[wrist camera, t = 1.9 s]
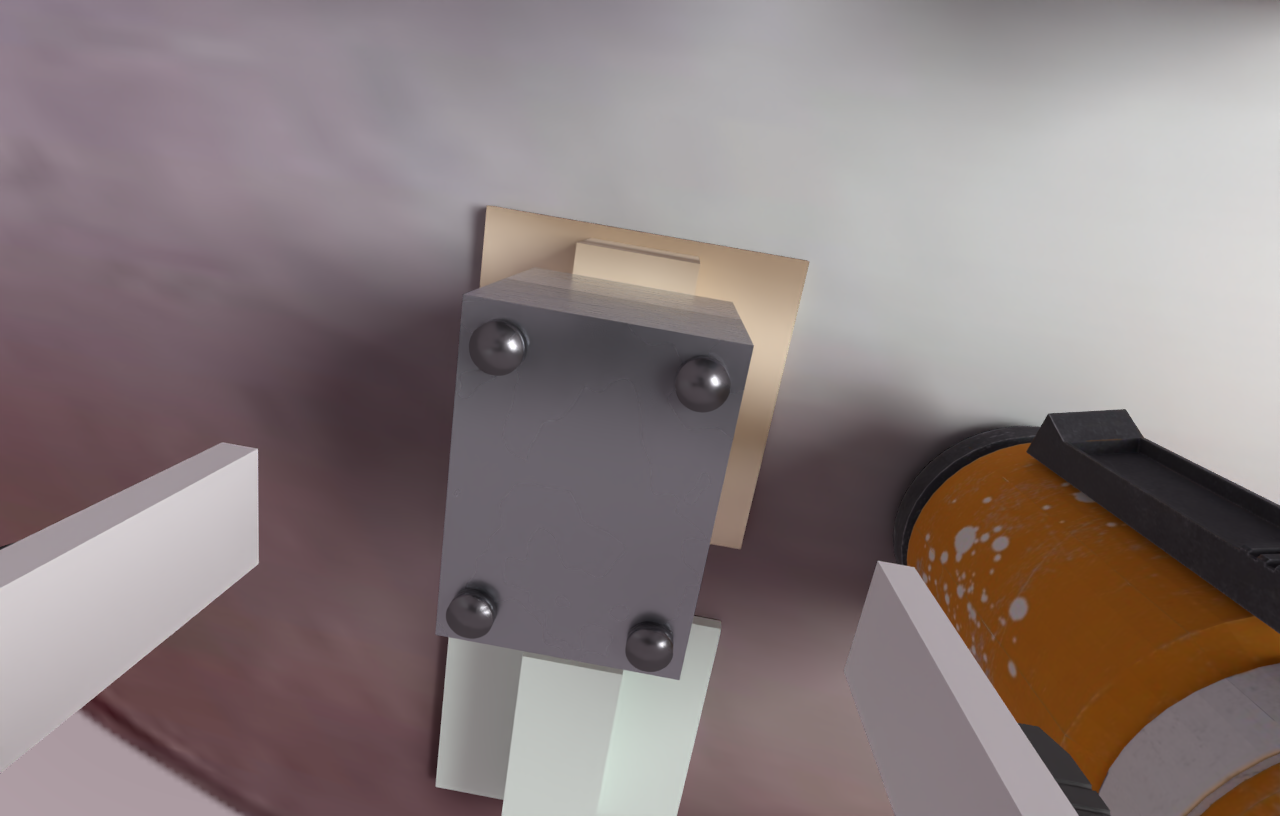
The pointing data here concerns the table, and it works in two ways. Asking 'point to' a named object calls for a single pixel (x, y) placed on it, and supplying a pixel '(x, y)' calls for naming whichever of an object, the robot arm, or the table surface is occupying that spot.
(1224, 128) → the table surface
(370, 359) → the table surface
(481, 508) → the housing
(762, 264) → the stand
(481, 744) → the stand
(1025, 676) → the canister
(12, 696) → the robot arm
